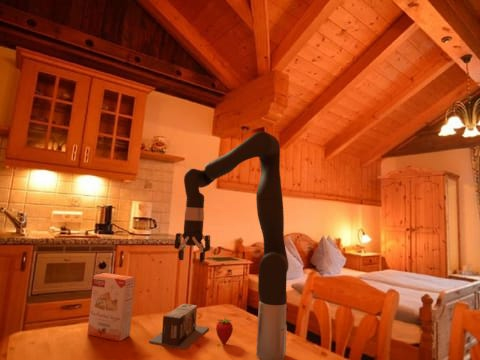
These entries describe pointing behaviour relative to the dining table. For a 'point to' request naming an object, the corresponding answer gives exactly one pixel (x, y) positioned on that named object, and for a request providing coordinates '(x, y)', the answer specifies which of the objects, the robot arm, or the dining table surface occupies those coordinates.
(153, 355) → the dining table surface
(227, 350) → the dining table surface
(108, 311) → the cracker box
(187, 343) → the slate mat
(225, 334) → the strawberry
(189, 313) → the coffee box
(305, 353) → the dining table surface
